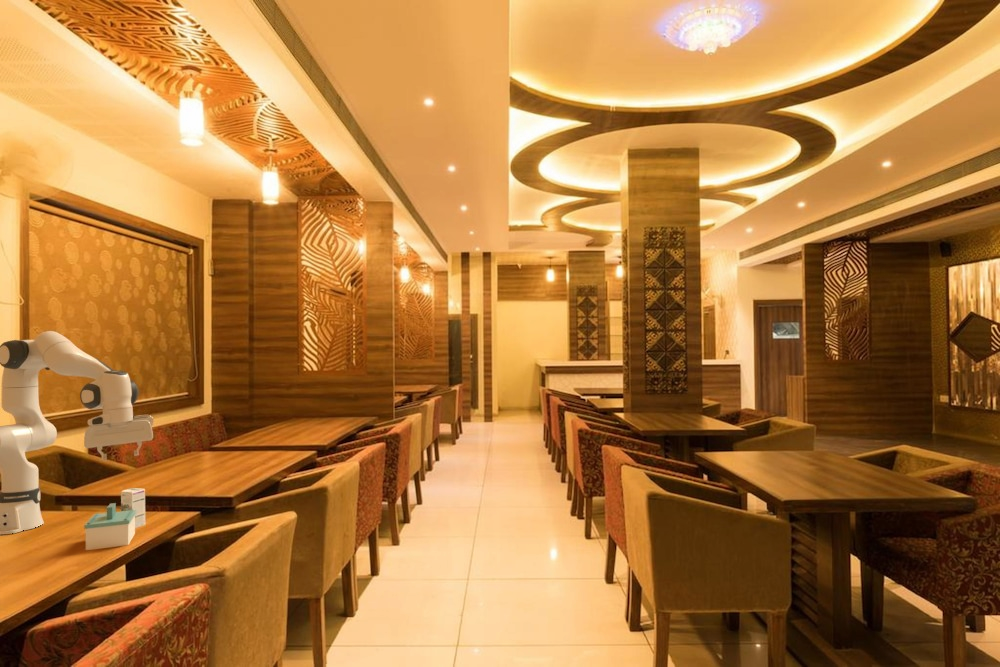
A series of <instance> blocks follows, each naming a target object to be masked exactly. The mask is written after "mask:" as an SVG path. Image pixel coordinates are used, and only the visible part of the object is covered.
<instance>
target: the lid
mask: <svg viewBox="0 0 1000 667" xmlns="http://www.w3.org/2000/svg"><path fill="white" fill-rule="evenodd" d="M116 504H117V503H116V502H113V503H109V505H108V506H106V512H103V513H99V512H97V513H95V514H93V515H91V517H90V518H89V519H88V520H87V521H86V523H85V524H84V526H83V527H84V530H86V529H88V528H97V527H106V526H115V525H124V524H129V523H130V522H131V520H132V519H133V517H134V516H135V514H136V510H133V509H132V510H130V511H121V510H120V511H116V508H117V506H116Z"/></svg>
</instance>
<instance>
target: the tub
mask: <svg viewBox="0 0 1000 667" xmlns="http://www.w3.org/2000/svg"><path fill="white" fill-rule="evenodd" d="M135 535H136V528H135V516H134V517H133V519H132V520H131V522H130V523H129V524H124V525H115V526H106V527H97V528H88V529H85V551H91V550H98V549H99V550H100V549H106V548H107V549H108V548H115V547H123V546H124V547H125V546H129V545H130V543H131V541H132V539H133V538H134V536H135Z"/></svg>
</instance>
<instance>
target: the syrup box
mask: <svg viewBox="0 0 1000 667" xmlns="http://www.w3.org/2000/svg"><path fill="white" fill-rule="evenodd" d="M120 500H121V501H120V512H121V511H130V510H132V509H133V510H136V514H135V529H136V528H139V527H143V526H145V525H146V489H145V488H136V487H132V488H127V489H124V490H122V491H120ZM146 526H147V525H146Z"/></svg>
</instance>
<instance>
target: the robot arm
mask: <svg viewBox="0 0 1000 667" xmlns="http://www.w3.org/2000/svg"><path fill="white" fill-rule="evenodd" d="M0 366H1V367H2V368H3V371H2V377H1V408H2V410H3V411H5V413H8V414H10V415H12V416H13V418H14V420H15V424H7V425H0V480H1V481H0V482H1V484H0V485H1V490H0V536H1V535H12V533H13V534H16V533H20V532H23V530H24V531H28V530H32V529H36V528H38V526H39V527H40V525H41V526H43V525H44V524H45V522H44V519H43V517H42V512H41V507H40V501H41V487H40V486H39V485H40V484H39V478H40V477H39V474H40V473H39V467H38V466H37V465H36V464H35V463H33V462H30V461H28V459H27V457H26V453H27V452H32V451H39V450H42V449H45V448H47V447H49V446H51V445H53V444H54V443H55V442H56V440H57V436H58V432H57V427H55V426H54V424H53V423H51V422H50V421H49V420H48V419H46V418H45V416H44V414H43V413H42V410H41V408H40V399H39V372H40V371H41V370H43V369H45V370H46V371H49V370H51V371H53V372H54V373H56V374H57V375H60V376H68V377H69V376H70V377H83V378H90V379H93V380H94V381H92V382H90V383H89V382H88V383H86V384H85V385H84V386H82V388H81V390H80V394H79V396H80V397H79V398H80V402H81V404H82V405H83V407H85V408H86V409H87V410H102V414H99V415H96V416H94V417H91V418H89V419H88V420H87V425H88V427H86V429H85V432H84V440H83V446H84V447H85V448H86V449H93V448H96V450H97V453H98V454H100V455H101V461H105V460H107V459H108V457H107V456H108V454H107V453H104V452H103V447H108V446H116V445H124V444H125V445H126V444H132V443H133V444H134V443H136V444H137V446H138V447H137V448H136V449H134V450H133V453H134V454H133V456H134V457H135V456H140V449H141V447H142V445H143V442H147V441H148V442H149V441H152V440H153V438H154V432H153V428H152V426H153V425H154V418H153V416H151V415H149V413H148V414H137V415H134V411H133V410H134V408H133V405H134V404H135V403H136V402H137V401H138V398H139V396H140V390H139V387H138V385H137V384H136V383H135V382H134V381H133V380H132V379H131V378H130V375H129V373H128V372H127V371H123V370H114V369H113V368H111V367H110V366H108V365H107V364H106V363H104V362H103V361H101V360H100V359H99V358H96V357H93V356H92V355H90V354H88V353H86V352H84V350H82V349H80V348H79V347H77V346H76V345H75V344H74V343H73V342H72V341H71V340H70V339H68V337H66V336H64V335H63V334H61V333H59V332H57V331H53V330H47V331H43V332H41V333H39V334H38V335H37V336H35V338H33V339H22V340H21V339H19V340H18V339H13V340H7V341H5V342H2V343H1V344H0ZM42 524H43V525H42ZM35 527H36V528H35Z"/></svg>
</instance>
